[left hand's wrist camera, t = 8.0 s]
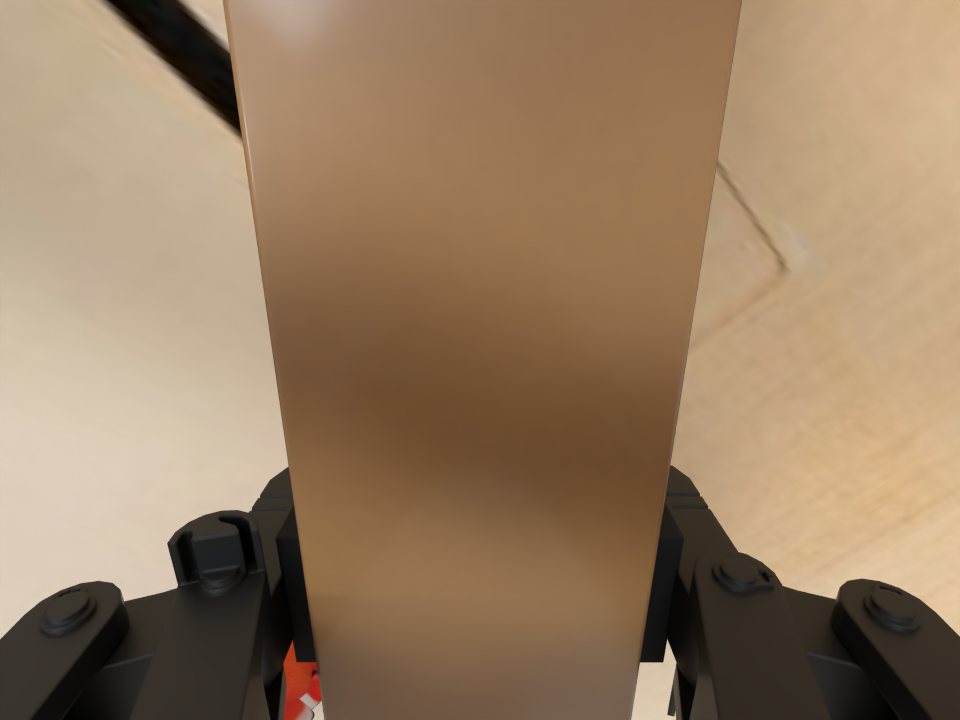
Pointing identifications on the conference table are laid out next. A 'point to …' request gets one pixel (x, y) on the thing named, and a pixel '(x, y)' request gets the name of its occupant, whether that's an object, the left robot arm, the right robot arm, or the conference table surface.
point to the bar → (480, 329)
